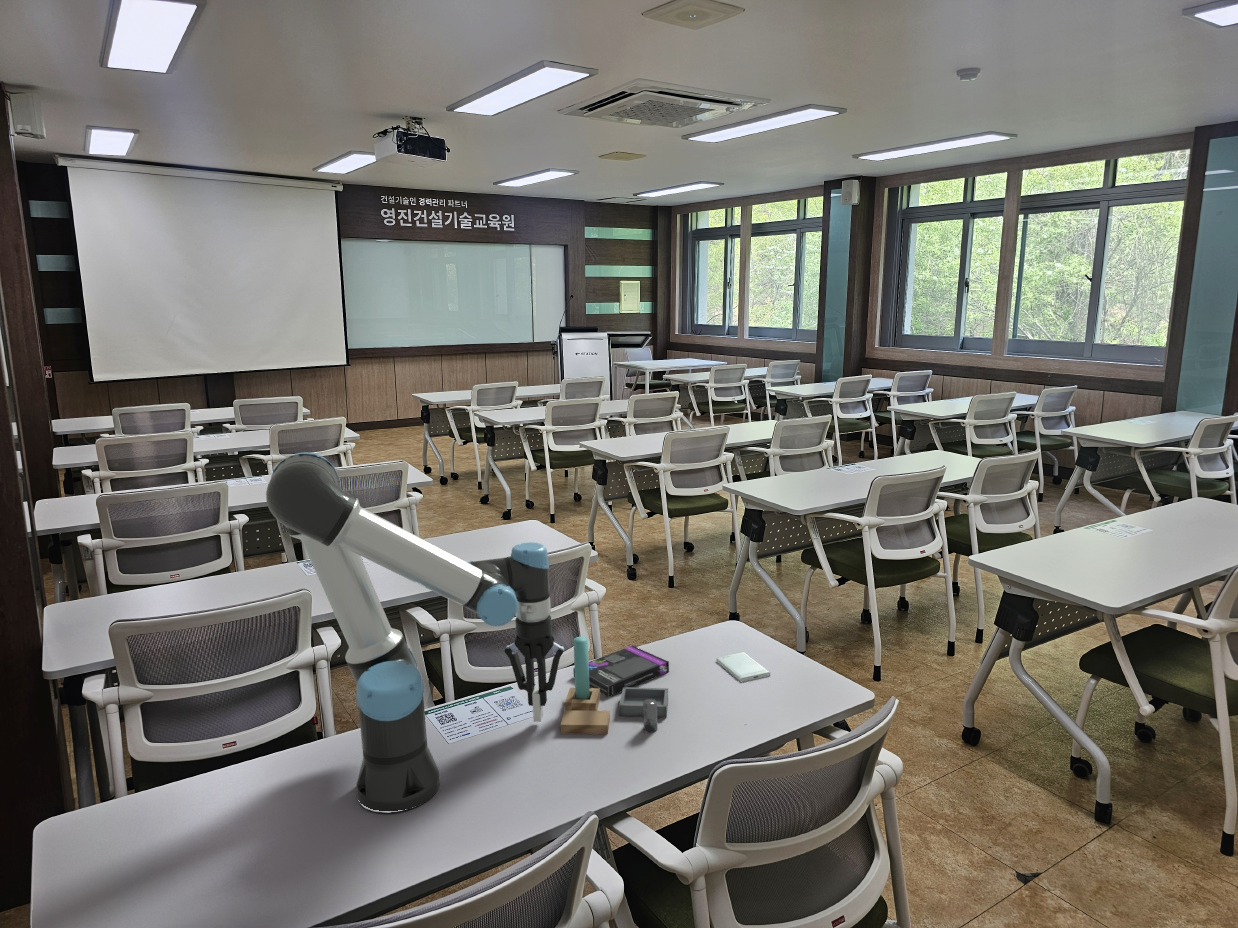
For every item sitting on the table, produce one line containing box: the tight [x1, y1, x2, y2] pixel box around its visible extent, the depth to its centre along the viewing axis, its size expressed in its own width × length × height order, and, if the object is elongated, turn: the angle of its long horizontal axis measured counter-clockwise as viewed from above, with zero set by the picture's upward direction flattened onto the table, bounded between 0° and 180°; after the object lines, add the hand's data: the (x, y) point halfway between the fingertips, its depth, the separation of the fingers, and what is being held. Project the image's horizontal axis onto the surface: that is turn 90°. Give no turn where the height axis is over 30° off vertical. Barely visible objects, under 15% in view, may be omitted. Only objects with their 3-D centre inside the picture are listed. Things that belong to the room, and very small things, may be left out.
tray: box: [618, 687, 669, 718], centre depth 177 cm, size 10×8×3 cm
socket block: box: [564, 687, 601, 711], centre depth 178 cm, size 7×7×2 cm
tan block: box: [560, 709, 611, 735], centre depth 169 cm, size 10×6×2 cm, turn 87°
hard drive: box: [715, 651, 771, 683], centre depth 195 cm, size 2×8×12 cm
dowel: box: [573, 636, 590, 700], centre depth 177 cm, size 3×3×16 cm
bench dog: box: [642, 699, 658, 733], centre depth 167 cm, size 3×3×6 cm
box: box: [572, 645, 670, 698], centre depth 193 cm, size 14×4×20 cm
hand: (538, 718), depth 170 cm, fingers closed
